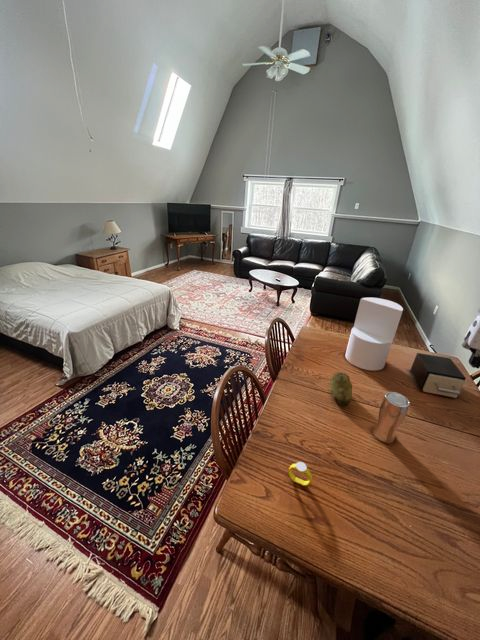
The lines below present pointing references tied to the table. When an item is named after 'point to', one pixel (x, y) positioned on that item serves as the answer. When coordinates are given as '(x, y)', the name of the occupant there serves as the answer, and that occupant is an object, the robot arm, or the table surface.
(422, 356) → the cabinet
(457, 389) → the drawer
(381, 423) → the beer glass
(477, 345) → the robot arm
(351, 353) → the cylinder
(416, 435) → the table surface
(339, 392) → the green rounded piece
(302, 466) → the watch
